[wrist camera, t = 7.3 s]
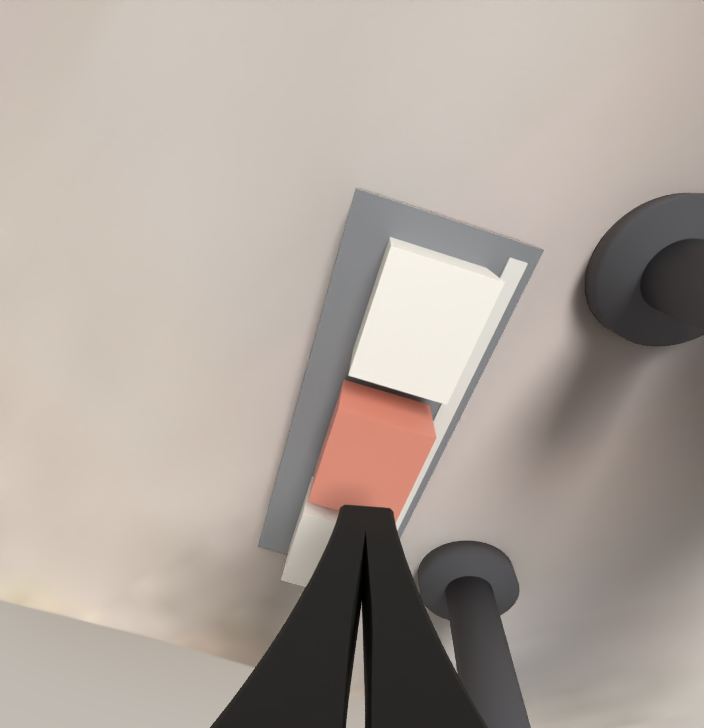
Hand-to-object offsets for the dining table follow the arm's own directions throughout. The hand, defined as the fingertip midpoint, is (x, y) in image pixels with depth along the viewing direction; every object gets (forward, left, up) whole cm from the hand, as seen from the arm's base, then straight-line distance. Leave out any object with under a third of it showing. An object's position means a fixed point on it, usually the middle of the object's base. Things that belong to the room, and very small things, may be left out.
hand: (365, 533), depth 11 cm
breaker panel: (0, 0, -7) cm, 7 cm away
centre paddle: (0, 0, -3) cm, 3 cm away
